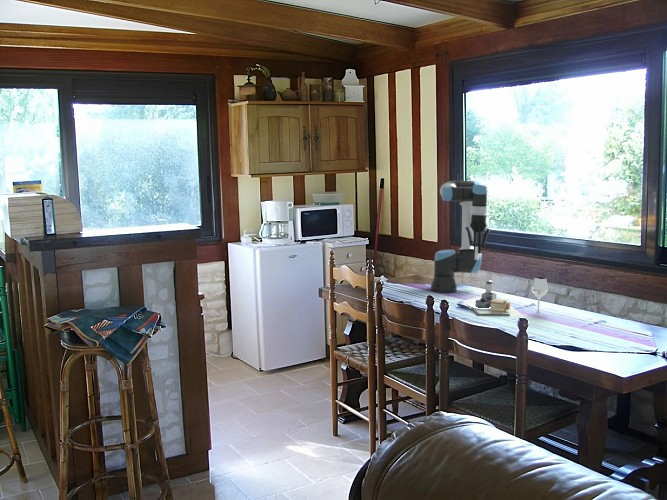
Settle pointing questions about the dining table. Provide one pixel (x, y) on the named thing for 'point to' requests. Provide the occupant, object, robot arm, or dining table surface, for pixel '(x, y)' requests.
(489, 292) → the crank pin
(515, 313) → the deck
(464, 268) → the robot arm
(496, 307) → the crate
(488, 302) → the crank wheel
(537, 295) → the wineglass
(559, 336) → the dining table surface
